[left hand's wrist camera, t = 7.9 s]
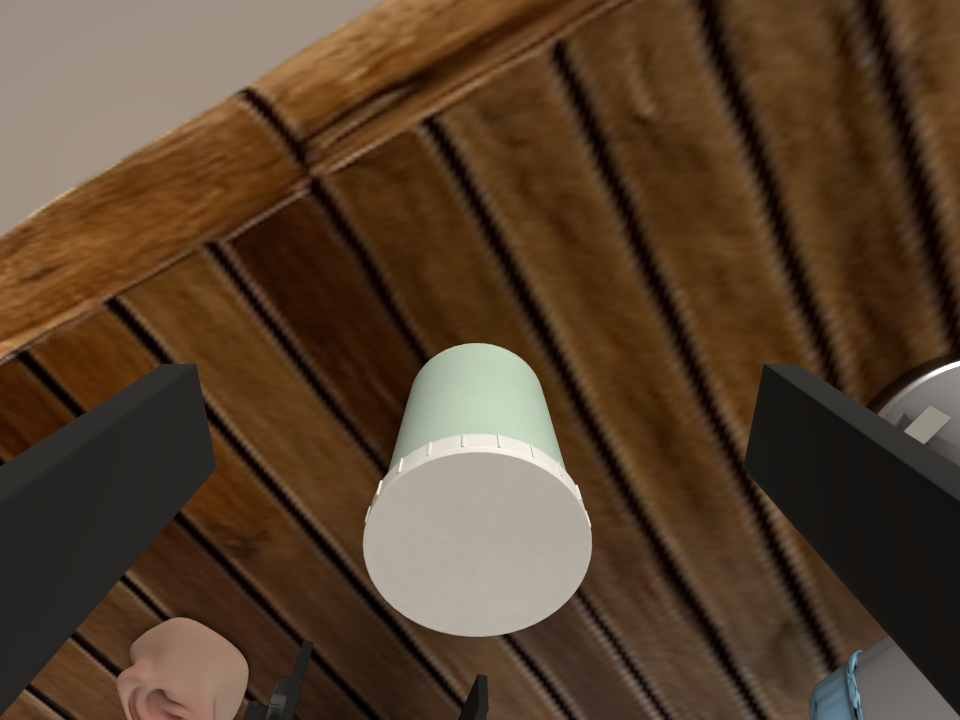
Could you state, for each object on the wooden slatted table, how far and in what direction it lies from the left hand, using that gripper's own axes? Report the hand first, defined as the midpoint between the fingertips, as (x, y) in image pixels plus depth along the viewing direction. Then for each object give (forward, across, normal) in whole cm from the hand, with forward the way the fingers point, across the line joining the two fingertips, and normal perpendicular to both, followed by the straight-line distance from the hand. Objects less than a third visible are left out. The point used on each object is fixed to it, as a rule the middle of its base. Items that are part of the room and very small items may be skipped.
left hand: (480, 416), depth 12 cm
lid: (+10, 0, +12) cm, 15 cm away
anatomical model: (+25, +27, +39) cm, 54 cm away
